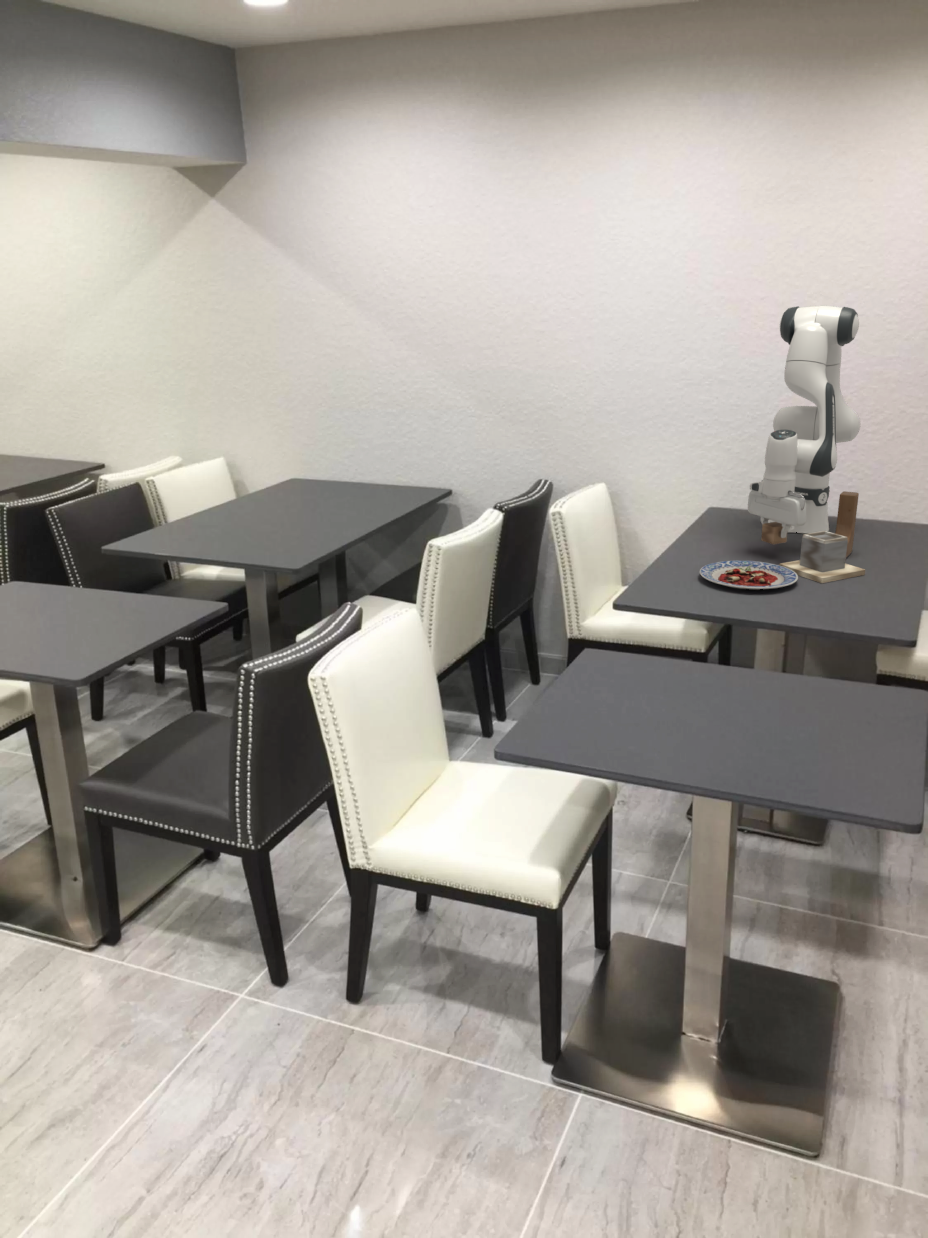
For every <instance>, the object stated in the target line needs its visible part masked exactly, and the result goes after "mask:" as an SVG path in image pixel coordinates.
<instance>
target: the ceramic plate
mask: <svg viewBox="0 0 928 1238" xmlns="http://www.w3.org/2000/svg"><path fill="white" fill-rule="evenodd" d="M699 574H700V576H701V577H702V578H703V579H705V580H707V581H709V582H712V583H714V584H718V585H722V586H725V587H729V588H733V589H739V590H746V589H749V591H750V590H751V591H753V590H755V591H761V590H760V589H763V590H769V589H778V588H783V587H787V586H791V585H793V584H795V583H796V582H797V581H798V579H799V575H797V574H796V573H795V572H794V571H792V570H790V569H788V568H786V567H782V566H779V564H775V563H769V562H763V561H757V560H756V561H755V560H725V561H717V562H712V563H708V564H705V565H704V566H702V567H701V568H700V569H699Z"/></svg>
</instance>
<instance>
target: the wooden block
mask: <svg viewBox="0 0 928 1238" xmlns="http://www.w3.org/2000/svg"><path fill="white" fill-rule="evenodd" d="M859 494H860V493H859V492H858V491H857V492H856V491H855V492H853V491H847V490H845V491H842V492H841V493H840V494H839V498H838V499H839V500H838V505H837V506H838V507H837V517H836V518H837V519H836V525H835V532H834V534H838V535H841V536H845V537H848V538H847V540H848V543H847V552H846V559H847V558H848V557H849V556H850V555H851V553H852V552H853V546H854V537H855V529H856V519H857V513H858V505H859V504H858V503H859Z"/></svg>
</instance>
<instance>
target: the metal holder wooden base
mask: <svg viewBox="0 0 928 1238" xmlns="http://www.w3.org/2000/svg"><path fill="white" fill-rule="evenodd" d="M847 538H848V537H845V536H841V535H838V534H835V532H830V531H821V532H815V533H802V537H801V545H800V546H801V547H800V556H799V560H793V561H786V562H782V563H779V564H778V565H779V566H782V567H786V568H788V569H790V570H792V571H794V572H795V573H796V574H797V575H798V577H802V578H804V579H807V580H811V581H814V582H816V583H819V584H825V583H831V582H832V583H833V582H835V581H841V580H847V579H851V578H856V577H860V576H865V575H866V569H865V568H861V567H859V566H855V565H851V564H848V563H846V560H847V558H846V552H847V543H848V540H847Z"/></svg>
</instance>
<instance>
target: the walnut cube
mask: <svg viewBox="0 0 928 1238" xmlns="http://www.w3.org/2000/svg"><path fill="white" fill-rule="evenodd" d="M761 525H762V524H761ZM782 528H783V527H782V524H781V523H778V522H771V523H765V524H763V525H762V527H761V537H760V538H761V539H760V540H761V541H762V542H765V543H768V544H770V545H778V544H783V543H787V541H788V535H787V536H786V538H781V537H779V536H778V535H779V531H781V530H782Z"/></svg>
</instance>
